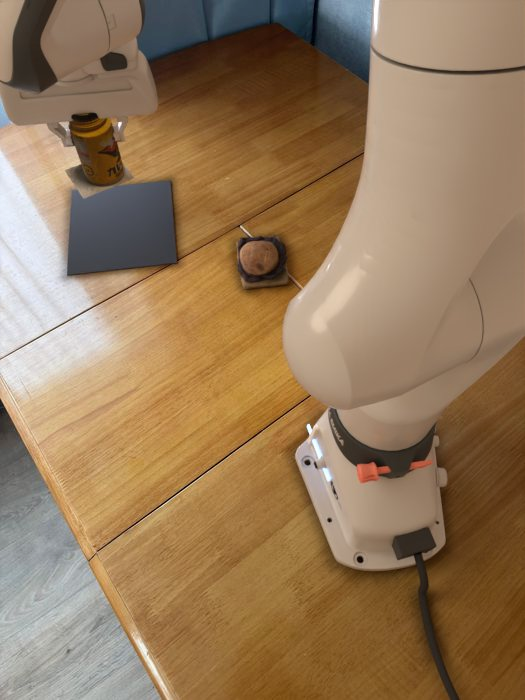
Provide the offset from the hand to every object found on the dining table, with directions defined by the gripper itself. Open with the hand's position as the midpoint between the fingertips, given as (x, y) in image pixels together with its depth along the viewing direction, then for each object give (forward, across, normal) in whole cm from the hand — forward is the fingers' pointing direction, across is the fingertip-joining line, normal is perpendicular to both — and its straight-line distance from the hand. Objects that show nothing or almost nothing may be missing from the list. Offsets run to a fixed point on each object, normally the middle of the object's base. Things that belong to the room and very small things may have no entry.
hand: (95, 141), depth 78 cm
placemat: (+17, 0, 0) cm, 17 cm away
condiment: (+6, -1, 0) cm, 6 cm away
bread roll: (+17, +23, -12) cm, 31 cm away
